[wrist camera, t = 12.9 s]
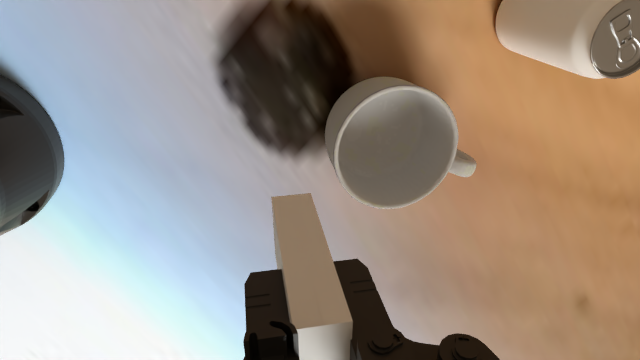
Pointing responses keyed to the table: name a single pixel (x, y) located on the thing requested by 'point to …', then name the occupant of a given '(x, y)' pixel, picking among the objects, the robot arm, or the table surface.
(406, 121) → the teacup
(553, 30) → the can
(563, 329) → the table surface
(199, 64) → the table surface
